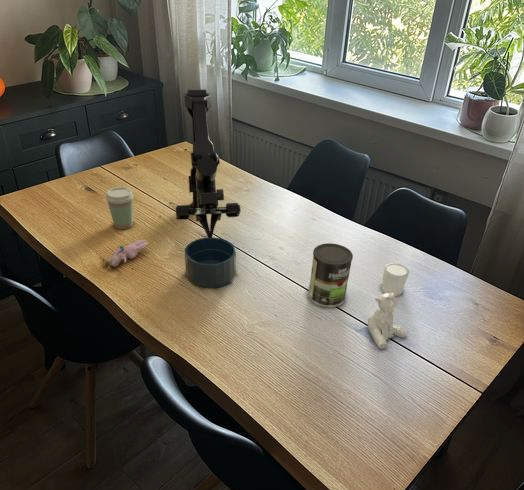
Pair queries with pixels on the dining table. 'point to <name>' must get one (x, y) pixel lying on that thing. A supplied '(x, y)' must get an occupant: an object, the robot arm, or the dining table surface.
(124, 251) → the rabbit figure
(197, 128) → the robot arm
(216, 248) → the bowl
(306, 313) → the dining table surface
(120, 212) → the coffee cup
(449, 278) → the dining table surface
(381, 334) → the seated beast figurine
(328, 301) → the coffee can
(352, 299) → the dining table surface
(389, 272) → the white candle jar
